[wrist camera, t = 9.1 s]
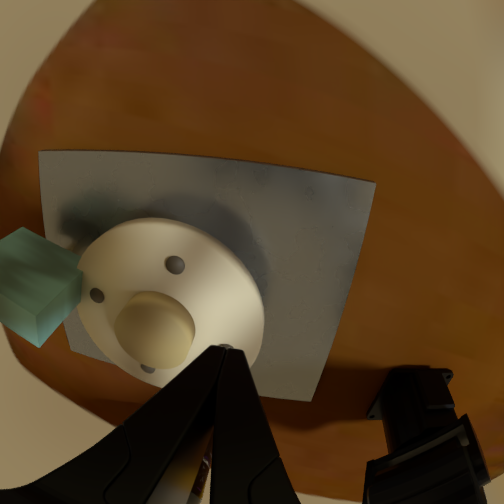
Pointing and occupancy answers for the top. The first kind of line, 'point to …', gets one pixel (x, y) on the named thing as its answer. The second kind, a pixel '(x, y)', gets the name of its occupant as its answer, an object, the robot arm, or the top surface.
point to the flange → (135, 294)
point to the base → (227, 238)
